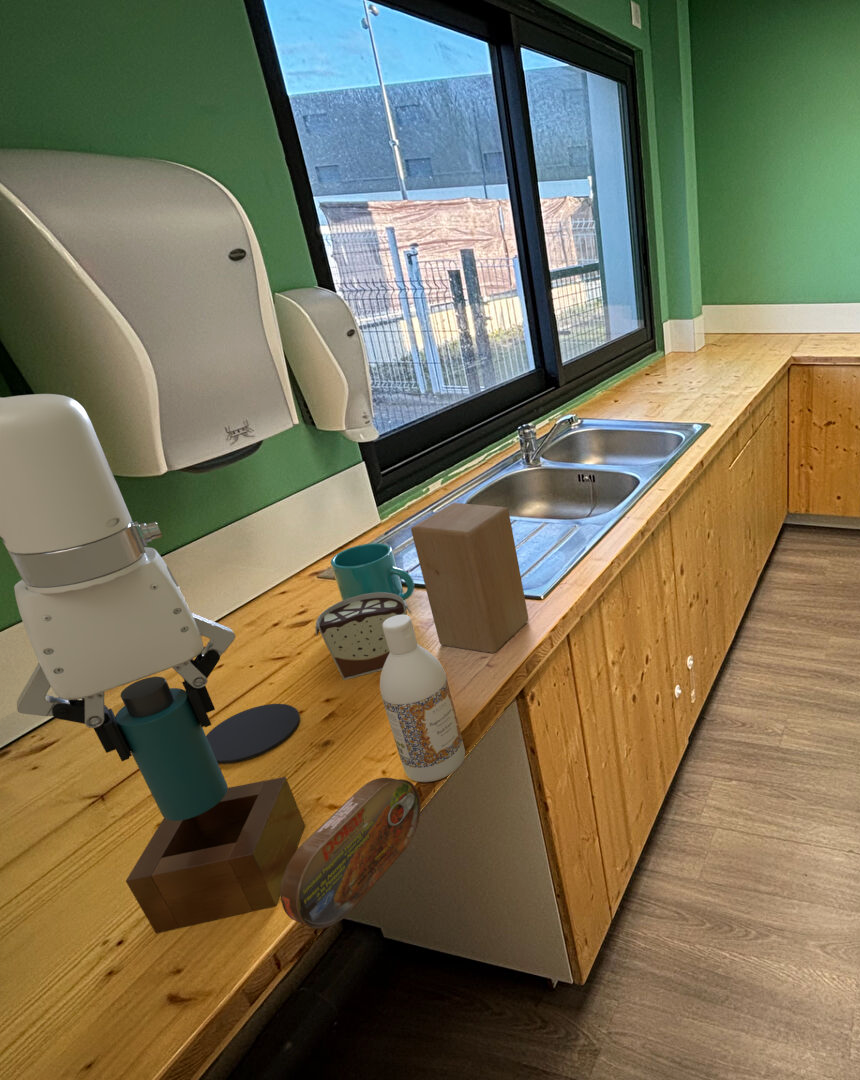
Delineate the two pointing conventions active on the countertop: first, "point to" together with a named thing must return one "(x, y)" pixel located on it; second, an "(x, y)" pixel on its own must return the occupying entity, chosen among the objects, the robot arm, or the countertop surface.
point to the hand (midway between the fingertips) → (164, 733)
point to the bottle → (170, 748)
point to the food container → (359, 631)
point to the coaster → (252, 732)
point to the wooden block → (471, 575)
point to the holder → (219, 858)
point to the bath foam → (419, 705)
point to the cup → (369, 572)
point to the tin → (350, 852)
